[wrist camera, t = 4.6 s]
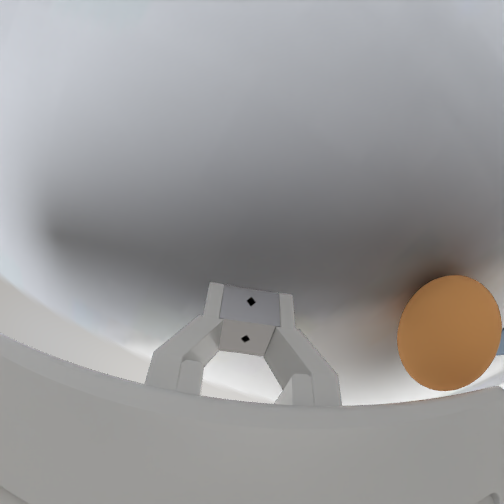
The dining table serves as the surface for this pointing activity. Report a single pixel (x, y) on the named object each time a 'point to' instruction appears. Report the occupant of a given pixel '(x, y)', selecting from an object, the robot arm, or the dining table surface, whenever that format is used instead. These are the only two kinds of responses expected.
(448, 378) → the ball
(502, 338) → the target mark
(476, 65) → the dining table surface
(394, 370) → the dining table surface
